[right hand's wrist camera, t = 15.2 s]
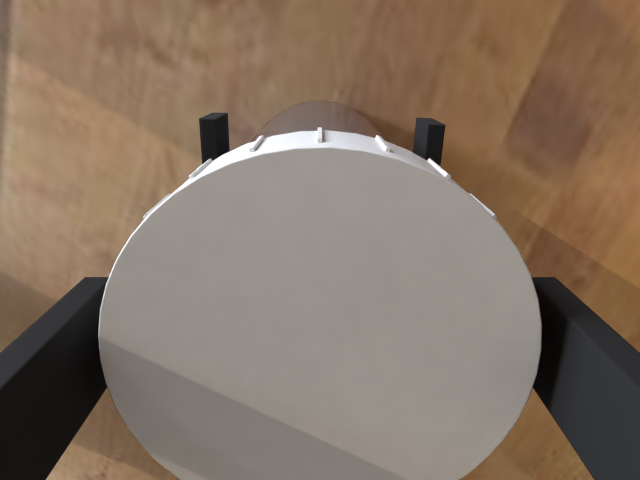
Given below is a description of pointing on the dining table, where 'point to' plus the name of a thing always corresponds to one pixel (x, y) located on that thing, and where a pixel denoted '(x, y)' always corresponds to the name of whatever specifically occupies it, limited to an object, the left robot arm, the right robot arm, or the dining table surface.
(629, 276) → the dining table surface
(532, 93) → the dining table surface
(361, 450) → the lid
